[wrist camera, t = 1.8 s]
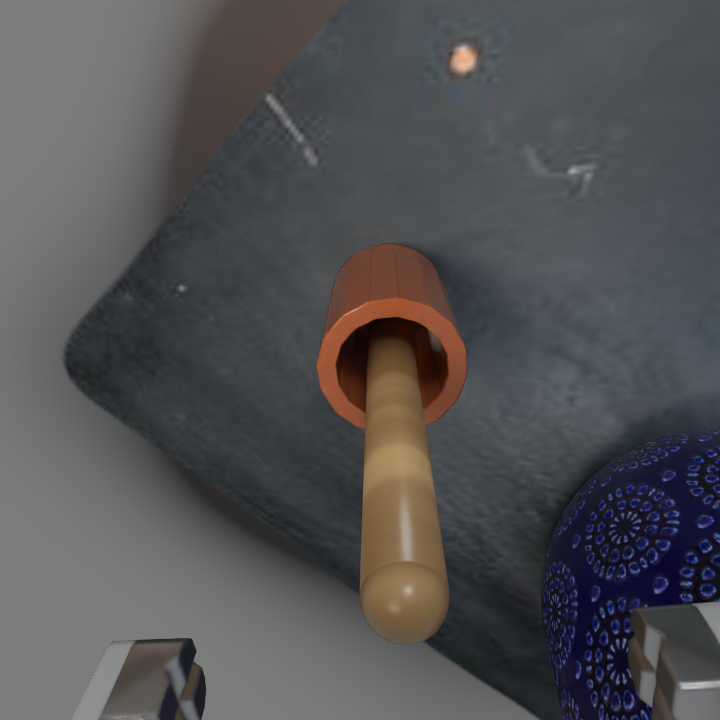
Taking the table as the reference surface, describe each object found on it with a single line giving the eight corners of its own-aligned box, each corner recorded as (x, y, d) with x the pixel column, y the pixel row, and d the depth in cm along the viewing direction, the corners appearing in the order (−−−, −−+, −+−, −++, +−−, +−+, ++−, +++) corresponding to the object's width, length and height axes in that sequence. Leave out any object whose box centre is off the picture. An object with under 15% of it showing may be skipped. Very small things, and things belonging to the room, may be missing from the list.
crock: (324, 250, 28) (306, 307, 21) (440, 237, 28) (463, 291, 20) (340, 355, 30) (328, 440, 23) (447, 344, 30) (470, 427, 22)
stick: (367, 286, 28) (352, 600, 11) (405, 282, 28) (452, 593, 11) (371, 322, 29) (364, 668, 12) (409, 318, 29) (456, 662, 11)
